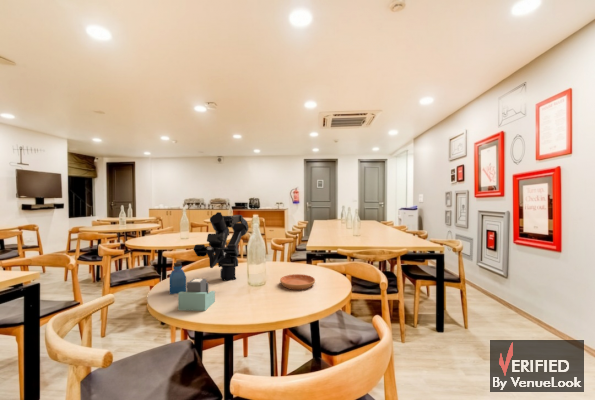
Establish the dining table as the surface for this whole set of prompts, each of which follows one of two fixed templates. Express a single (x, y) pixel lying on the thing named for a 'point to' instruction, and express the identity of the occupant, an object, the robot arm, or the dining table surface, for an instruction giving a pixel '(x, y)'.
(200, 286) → the grey block
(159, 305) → the dining table surface
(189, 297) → the socket
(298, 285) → the saucer
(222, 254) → the robot arm
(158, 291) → the dining table surface
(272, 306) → the dining table surface
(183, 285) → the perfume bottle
